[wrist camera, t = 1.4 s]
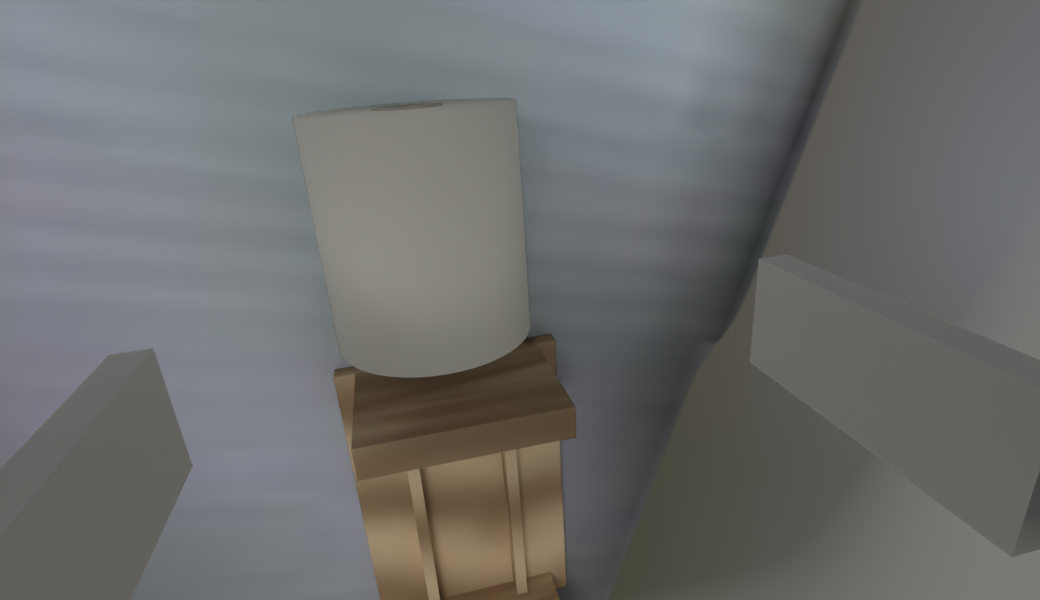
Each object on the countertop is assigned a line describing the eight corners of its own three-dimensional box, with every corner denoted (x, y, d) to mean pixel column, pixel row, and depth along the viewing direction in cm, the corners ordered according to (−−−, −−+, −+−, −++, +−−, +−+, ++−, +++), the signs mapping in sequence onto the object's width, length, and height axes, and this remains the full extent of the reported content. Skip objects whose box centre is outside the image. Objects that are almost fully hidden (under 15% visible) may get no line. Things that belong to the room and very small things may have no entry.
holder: (334, 369, 28) (323, 454, 22) (550, 334, 30) (598, 402, 24) (386, 619, 35) (390, 741, 28) (562, 576, 37) (602, 680, 30)
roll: (320, 107, 25) (260, 123, 17) (508, 93, 25) (527, 104, 18) (356, 304, 28) (319, 389, 21) (521, 289, 29) (541, 366, 21)
